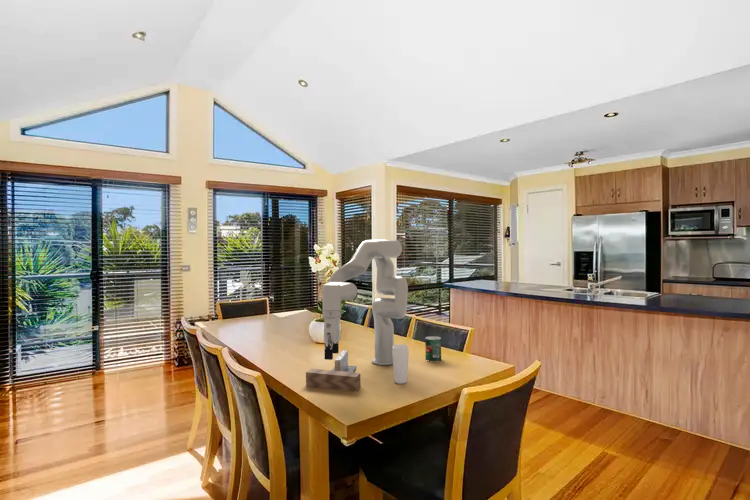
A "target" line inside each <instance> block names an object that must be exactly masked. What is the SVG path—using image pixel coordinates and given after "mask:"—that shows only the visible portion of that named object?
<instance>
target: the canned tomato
mask: <svg viewBox="0 0 750 500" xmlns="http://www.w3.org/2000/svg"><path fill="white" fill-rule="evenodd" d="M424 341H425V346H424V347H425V349H424V350H425V352H424V353H425V361H426V360H429V361H428V362H430V361H438V362H440V361H439V360H441V361H442V338H441V336H437V335H429V336H425V337H424Z"/></svg>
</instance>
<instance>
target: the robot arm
mask: <svg viewBox="0 0 750 500" xmlns="http://www.w3.org/2000/svg"><path fill="white" fill-rule="evenodd" d="M402 251H403V246H402V243H401V242H400V241H399V240H397V239H366V240H363V241H362V242H361V243H360V244H359V245H358V247H357V249H356V250H355V252H354V254H353V255H352V256H351V258H350V260H349V261H348V262H347V263H345V264H343V265H342V266H341V267H339V268H338V269H337V270H335V271H334V272H333V273H332V274H331V276H330V278H329V279H328V280H327V283H325V284H323V286H322V319H324V320H323V322H324V323H323V342H324V360H327V361H328V360H329V361H331V360H333V359H334V355H333V354H335V355H336V354H338V355H339V354H340V353H339V350H340V349H339V341H340V340H341V339H342V336H341V335H342V334H341V318H342V301H352V300H354V299H355V298H356V297H357V295H358V288H357V286H356V284H354V283H353V282H347V281H348V280H350V279H353V278H357V277H358V276H361V275H363V274H365V273H366V272H367V270H368V268H369V266H370V265H371V263H372V261H373V260H374V262H375V264H376V292H377V293H378V294H379V295H382V296H394V298H391V297H378V298H375V299H374V300H373V301H372V305H371V311H372V315H373V322H374V323H373V324H374V325H373V326H374V327H373V328H374V329H373V330H374V357H373V358H372V359H371V363H372V364H374V365H377V366H393V358H392V346H393V345H395V341H394V340H395V338H394V335H395V333H394V332H395V331H394V330H395V328H394V322H393V320H392V319H398V320H400V319H404V317H406V314H407V310H408V296H409V295H408V294H409V285H408V281H407V279H406V277H404V276H400V275H398V276H397V275H395V265H394V263H393V260H392V259H395V258H399V256H400V255H401V254H402Z"/></svg>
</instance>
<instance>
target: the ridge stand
mask: <svg viewBox="0 0 750 500" xmlns="http://www.w3.org/2000/svg"><path fill="white" fill-rule="evenodd" d="M331 370H332V371H343V372H354V373H355V372H356V370H357V365H349V350H346V349H344V350H342V351H341V352H340V353H338V356H337V357H336V358H335V359H334V367H333V368H332V369H331Z"/></svg>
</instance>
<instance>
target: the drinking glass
mask: <svg viewBox="0 0 750 500" xmlns="http://www.w3.org/2000/svg"><path fill="white" fill-rule="evenodd" d="M392 358H393V364H392V368H393V379H394V380H393V381H394V383H396V384H399V385H400V384H401V385H403V384H406V383H407V382H408V368H409V345H407V344H401V343H400V344H399V343H398V344H394V345H393V346H392Z"/></svg>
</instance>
